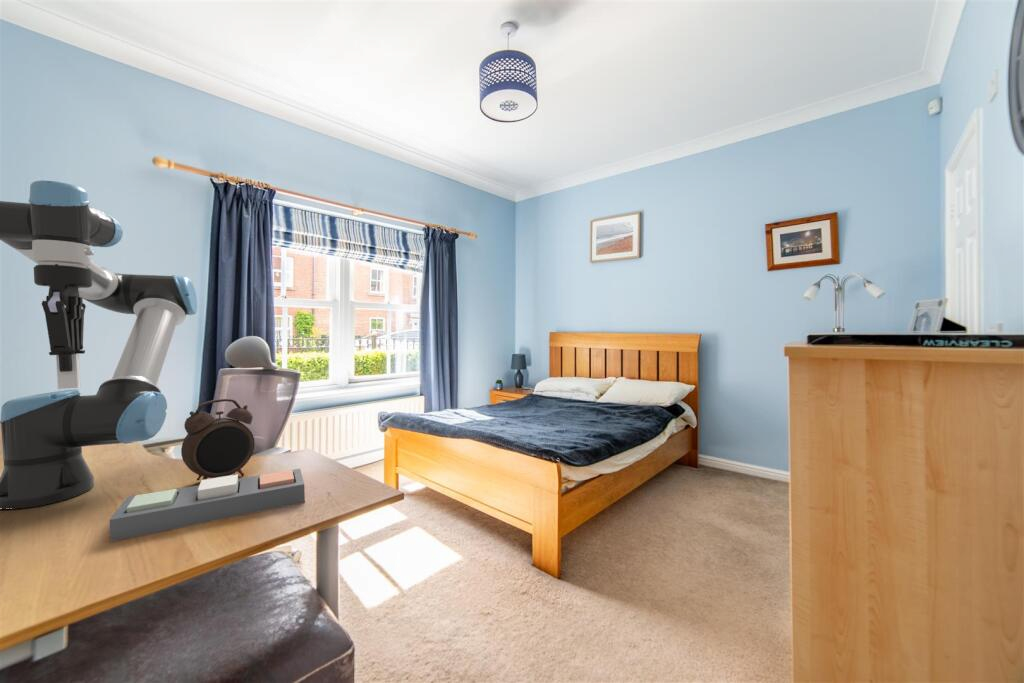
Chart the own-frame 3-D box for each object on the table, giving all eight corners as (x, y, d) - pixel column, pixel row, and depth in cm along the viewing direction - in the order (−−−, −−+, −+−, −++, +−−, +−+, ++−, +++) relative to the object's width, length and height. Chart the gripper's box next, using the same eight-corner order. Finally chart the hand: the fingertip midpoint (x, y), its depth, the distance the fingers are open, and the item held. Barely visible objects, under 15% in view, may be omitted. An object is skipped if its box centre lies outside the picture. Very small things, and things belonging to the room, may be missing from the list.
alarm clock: (190, 492, 94) (187, 406, 94) (180, 485, 99) (177, 402, 98) (259, 474, 106) (257, 397, 105) (248, 468, 110) (245, 394, 109)
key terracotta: (260, 488, 92) (259, 475, 92) (292, 482, 96) (292, 469, 96) (260, 498, 87) (259, 484, 87) (294, 491, 90) (294, 478, 90)
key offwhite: (202, 493, 87) (201, 480, 87) (238, 487, 90) (237, 474, 90) (198, 505, 81) (197, 490, 81) (236, 498, 85) (236, 483, 85)
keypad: (127, 516, 83) (126, 497, 82) (300, 484, 99) (300, 468, 99) (110, 541, 73) (109, 519, 73) (304, 502, 89) (304, 484, 89)
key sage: (136, 510, 81) (135, 495, 81) (177, 503, 85) (176, 488, 85) (127, 523, 76) (126, 507, 76) (171, 515, 79) (171, 500, 79)
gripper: (78, 263, 75) (84, 391, 76) (101, 270, 86) (106, 382, 87) (17, 260, 71) (25, 394, 72) (49, 268, 82) (55, 385, 84)
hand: (69, 387), depth 80 cm, fingers closed
